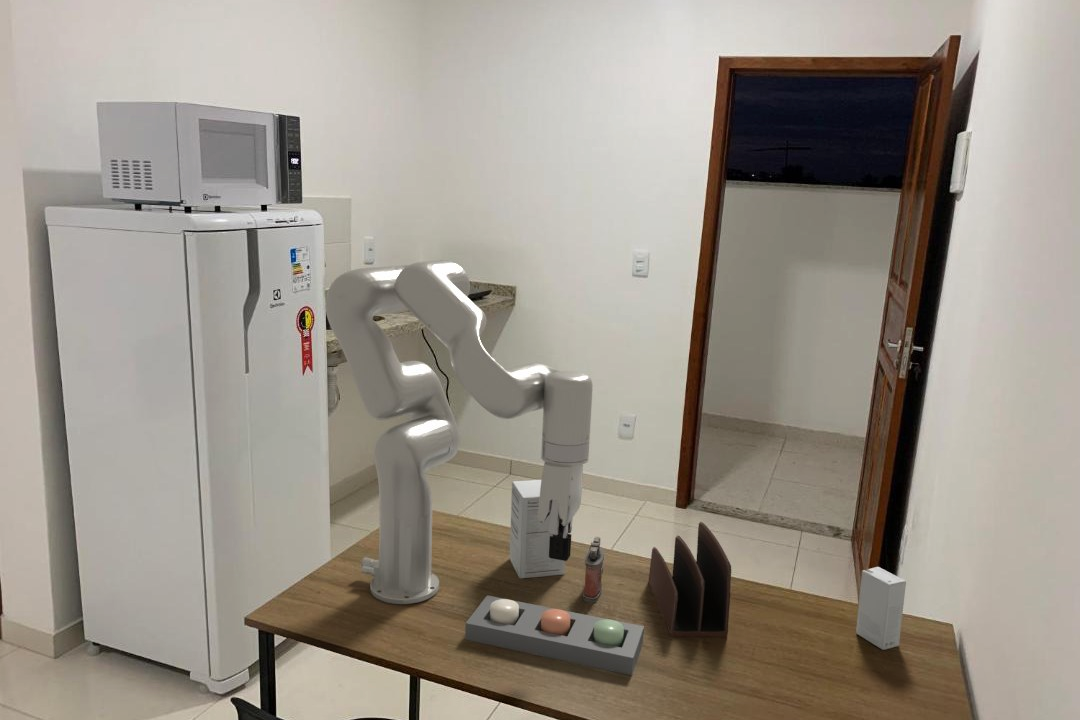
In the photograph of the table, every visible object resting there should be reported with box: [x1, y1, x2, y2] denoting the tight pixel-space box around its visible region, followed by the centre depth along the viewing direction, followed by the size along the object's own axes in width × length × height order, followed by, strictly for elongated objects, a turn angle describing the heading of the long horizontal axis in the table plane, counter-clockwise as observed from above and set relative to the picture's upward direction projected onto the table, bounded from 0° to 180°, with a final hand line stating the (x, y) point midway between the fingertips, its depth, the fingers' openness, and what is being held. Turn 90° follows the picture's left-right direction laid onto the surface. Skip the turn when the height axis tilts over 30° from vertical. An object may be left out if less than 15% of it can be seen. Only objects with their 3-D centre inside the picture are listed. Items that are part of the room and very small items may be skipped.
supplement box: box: [509, 479, 566, 579], centre depth 157 cm, size 10×9×17 cm
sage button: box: [593, 618, 624, 648], centre depth 129 cm, size 5×5×3 cm
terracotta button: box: [541, 608, 570, 636], centre depth 132 cm, size 5×5×3 cm
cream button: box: [490, 598, 519, 626], centre depth 134 cm, size 5×5×3 cm
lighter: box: [582, 536, 605, 603], centre depth 149 cm, size 8×3×10 cm, turn 168°
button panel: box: [464, 595, 645, 676], centre depth 132 cm, size 28×10×3 cm, turn 73°
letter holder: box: [648, 521, 732, 638], centre depth 144 cm, size 10×20×14 cm, turn 4°
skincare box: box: [855, 566, 907, 650], centre depth 136 cm, size 6×4×12 cm
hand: (559, 557), depth 129 cm, fingers closed
